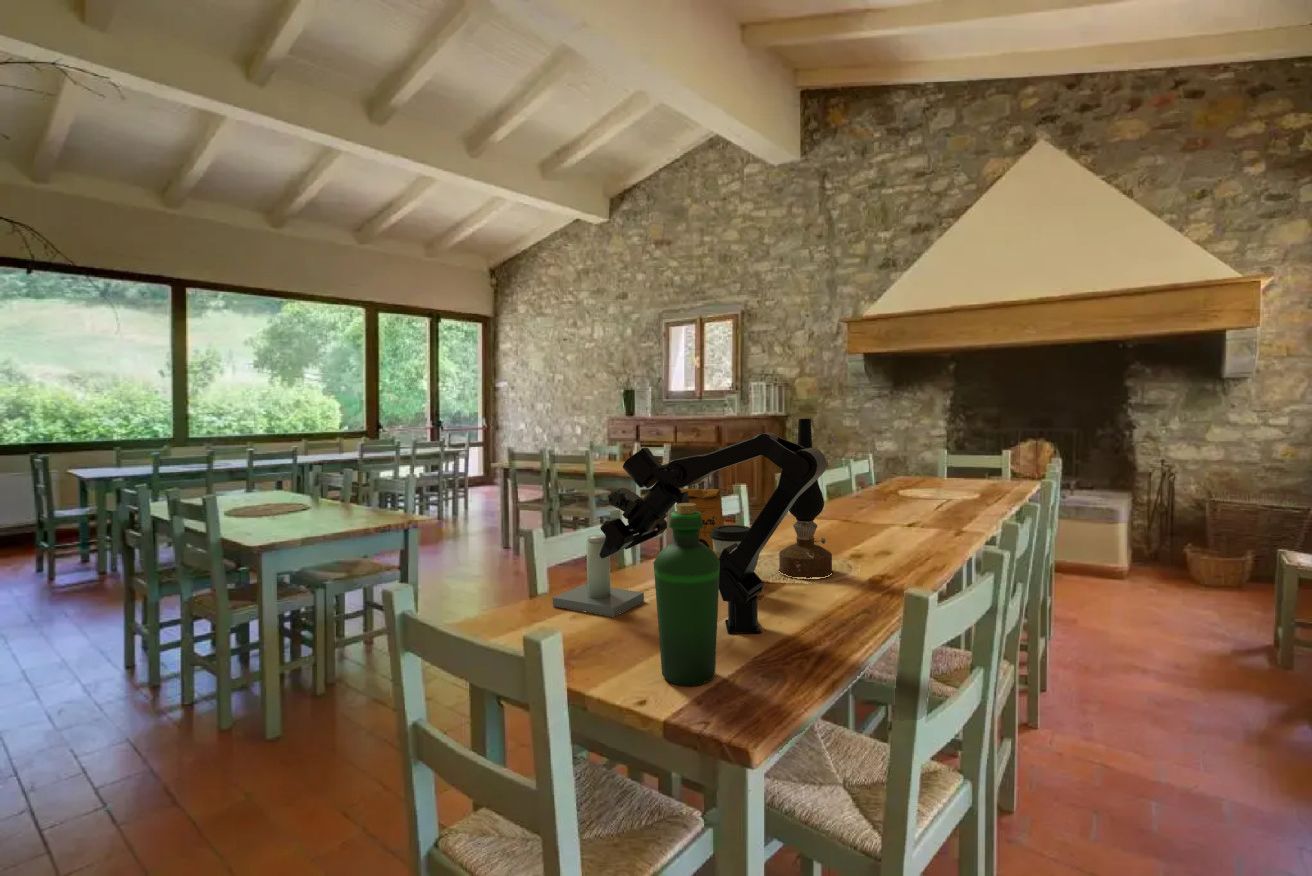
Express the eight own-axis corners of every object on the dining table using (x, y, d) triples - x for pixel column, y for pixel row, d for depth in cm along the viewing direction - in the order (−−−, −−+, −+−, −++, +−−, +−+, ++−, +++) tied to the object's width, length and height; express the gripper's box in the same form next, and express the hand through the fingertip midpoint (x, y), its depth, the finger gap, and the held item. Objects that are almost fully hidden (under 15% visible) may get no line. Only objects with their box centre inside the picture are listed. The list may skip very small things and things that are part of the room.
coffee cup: (753, 587, 155) (752, 524, 154) (755, 599, 145) (754, 532, 144) (711, 586, 156) (710, 524, 155) (710, 599, 146) (709, 532, 145)
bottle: (717, 661, 111) (715, 498, 110) (726, 689, 101) (723, 509, 99) (654, 663, 111) (651, 500, 109) (656, 691, 100) (653, 510, 99)
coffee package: (722, 580, 161) (721, 491, 160) (674, 577, 165) (672, 490, 164) (731, 570, 170) (730, 486, 169) (685, 567, 174) (684, 485, 173)
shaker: (604, 599, 141) (602, 539, 140) (583, 597, 143) (582, 538, 142) (614, 592, 146) (613, 535, 145) (594, 590, 148) (593, 533, 147)
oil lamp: (797, 595, 159) (796, 437, 148) (765, 570, 173) (761, 423, 162) (845, 582, 164) (847, 427, 153) (809, 558, 177) (809, 415, 167)
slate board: (644, 601, 146) (643, 592, 146) (614, 617, 135) (614, 607, 135) (585, 591, 154) (585, 583, 153) (553, 606, 143) (552, 597, 143)
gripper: (653, 471, 146) (613, 517, 152) (606, 481, 130) (564, 532, 136) (686, 508, 143) (644, 553, 149) (642, 523, 127) (597, 573, 133)
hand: (613, 552), depth 142 cm, fingers open, 9 cm apart
